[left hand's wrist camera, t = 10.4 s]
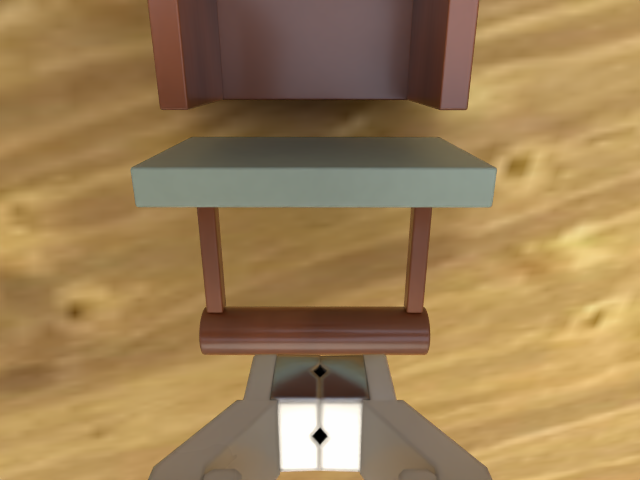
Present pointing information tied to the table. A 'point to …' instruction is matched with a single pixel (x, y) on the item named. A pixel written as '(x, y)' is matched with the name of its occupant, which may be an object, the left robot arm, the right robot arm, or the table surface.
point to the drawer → (313, 145)
